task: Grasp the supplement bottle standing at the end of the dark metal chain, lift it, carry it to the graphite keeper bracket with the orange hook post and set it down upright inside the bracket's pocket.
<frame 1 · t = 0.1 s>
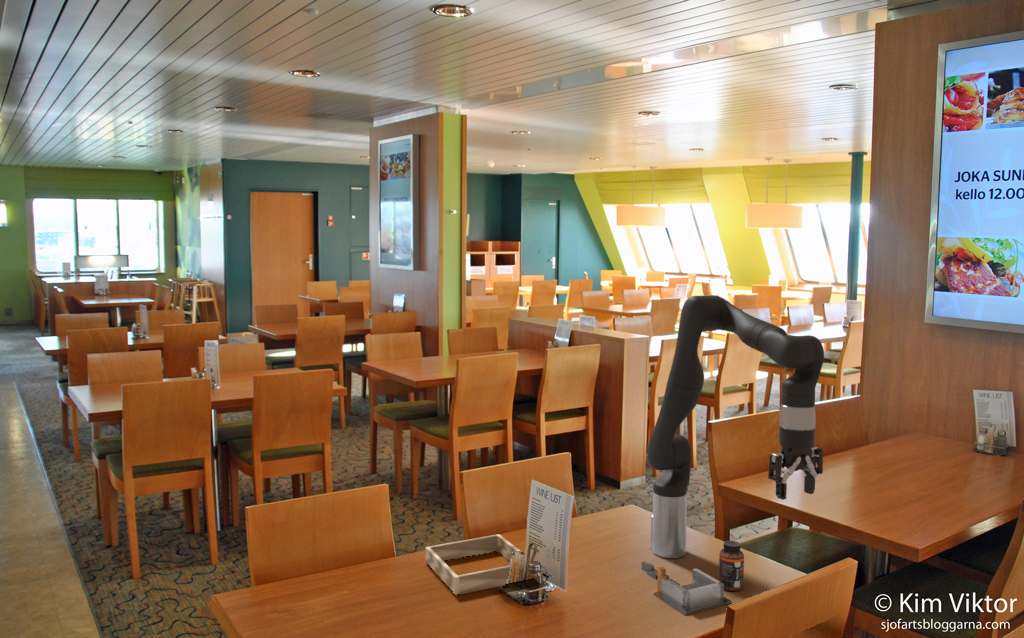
hand: (795, 495, 170), 29 cm above the table, fingers open, 8 cm apart
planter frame: (478, 570, 201), on the table
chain: (663, 580, 194), on the table
supplement bottle: (731, 587, 190), on the table
keeper: (689, 597, 185), on the table
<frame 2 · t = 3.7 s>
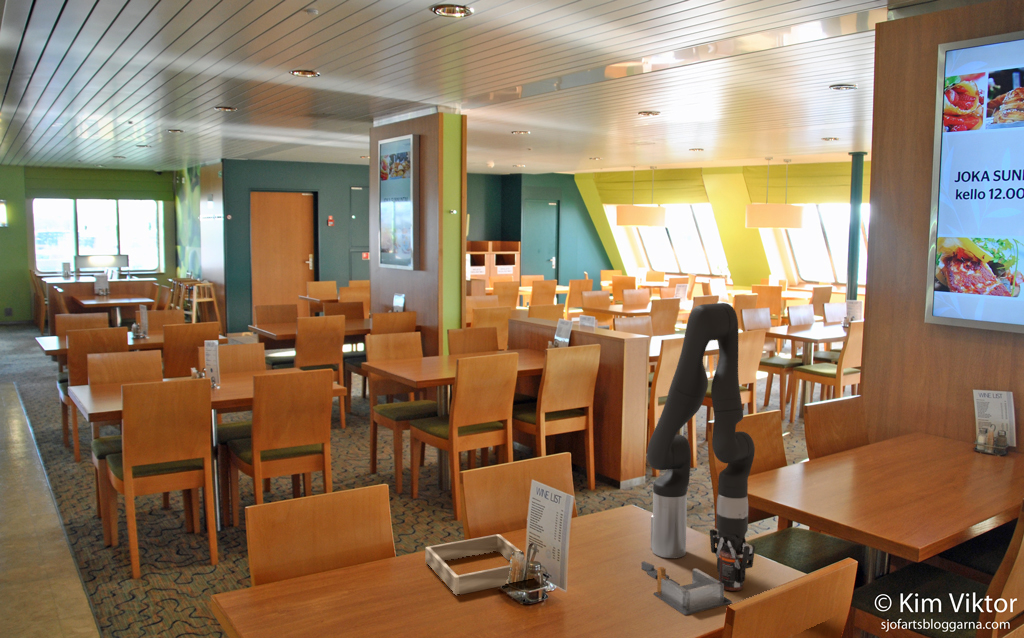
hand: (730, 576, 190), 3 cm above the table, fingers closed on supplement bottle, 6 cm apart
supplement bottle: (731, 587, 190), on the table, touching gripper
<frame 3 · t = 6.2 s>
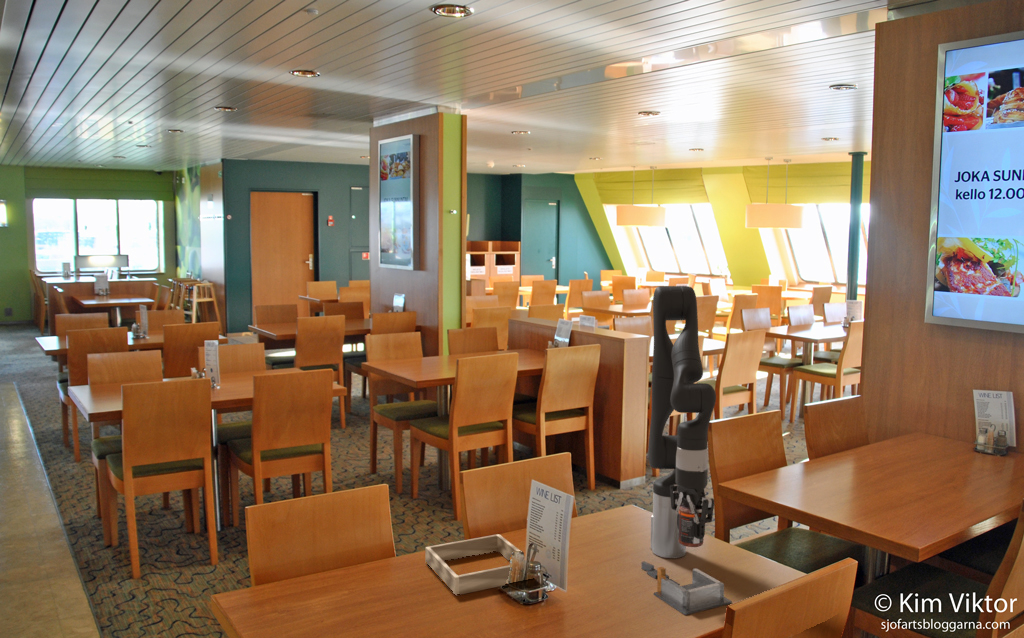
hand: (690, 533, 183), 16 cm above the table, fingers closed on supplement bottle, 6 cm apart
supplement bottle: (690, 544, 184), point 13 cm above the table, touching gripper
when the fingers open (5 cm above the table, at t = 9.0 s): supplement bottle drops 2 cm, resting on keeper.
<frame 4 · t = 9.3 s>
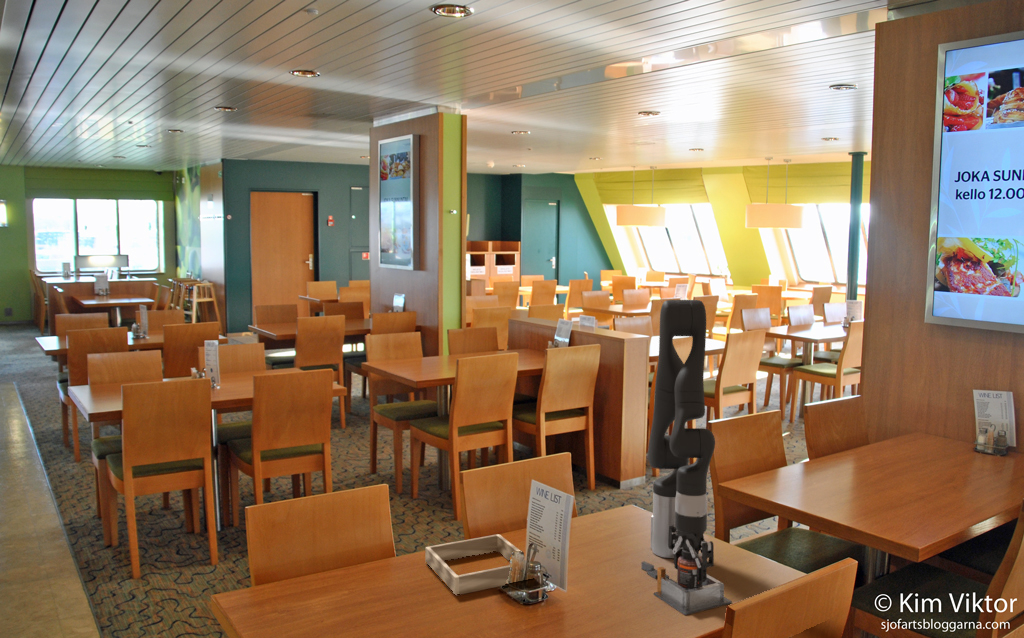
hand: (689, 575, 184), 6 cm above the table, fingers open, 8 cm apart
supplement bottle: (689, 595, 185), resting on keeper
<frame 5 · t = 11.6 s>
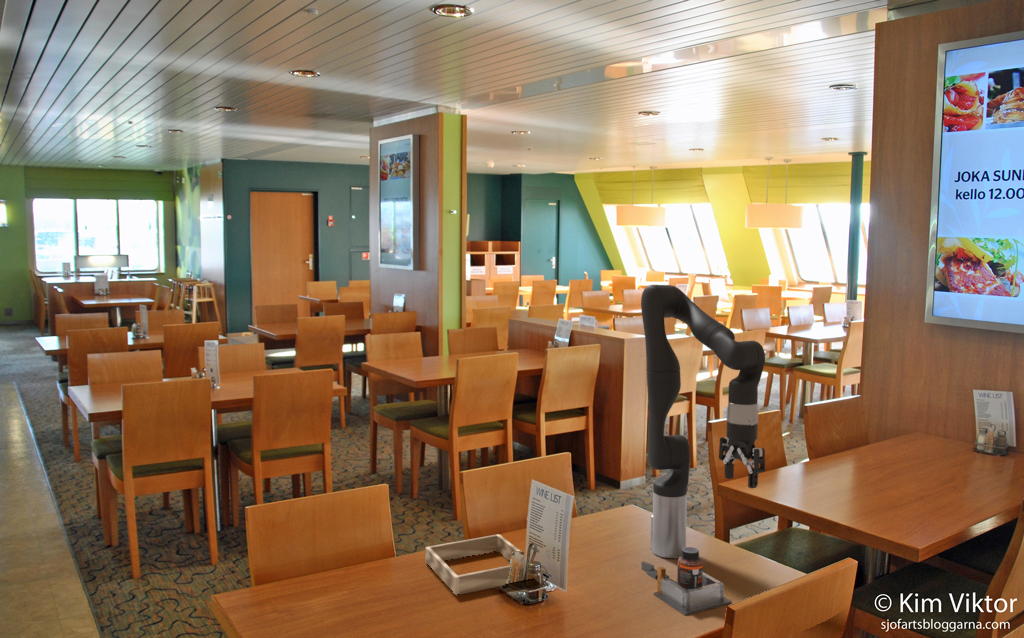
hand: (740, 483, 192), 26 cm above the table, fingers open, 8 cm apart
nothing on the table moved.
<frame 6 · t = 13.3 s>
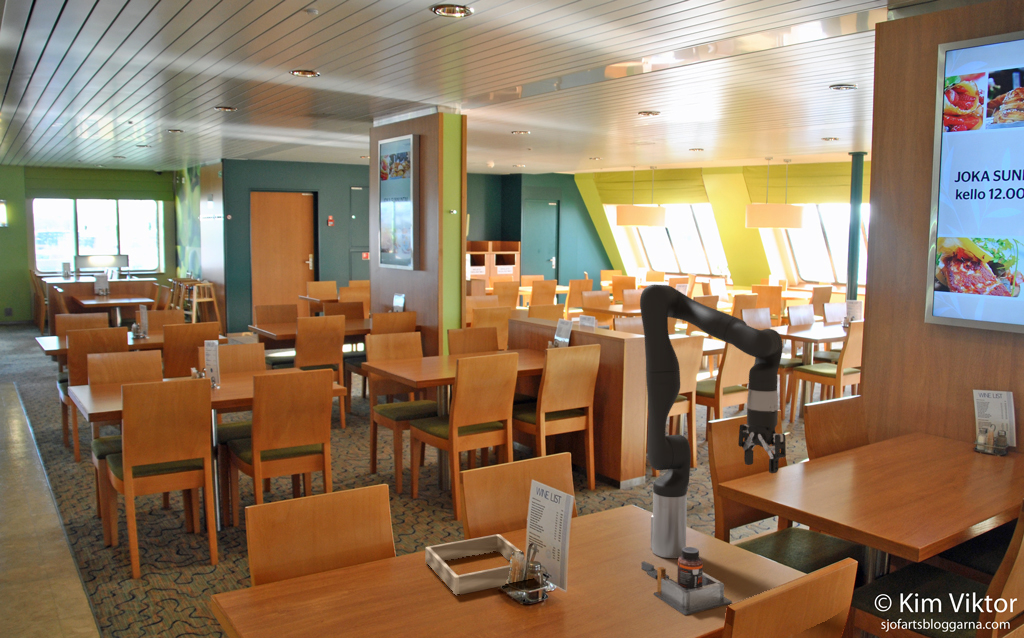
hand: (760, 468, 196), 28 cm above the table, fingers open, 8 cm apart
nothing on the table moved.
at the end: supplement bottle inside the target area on the keeper (0.3 cm from its centre), point 0.3 cm above the keeper's base; supplement bottle tilted 0°; the gripper is holding nothing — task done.
